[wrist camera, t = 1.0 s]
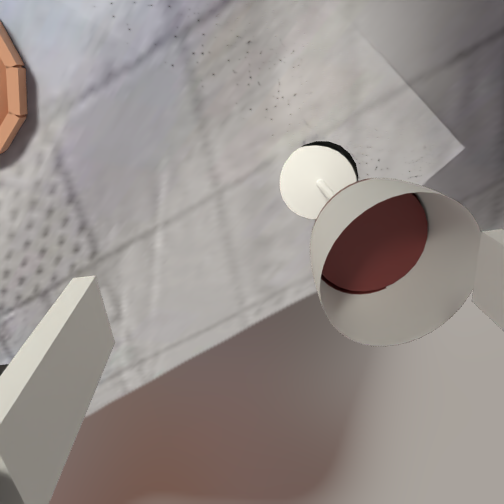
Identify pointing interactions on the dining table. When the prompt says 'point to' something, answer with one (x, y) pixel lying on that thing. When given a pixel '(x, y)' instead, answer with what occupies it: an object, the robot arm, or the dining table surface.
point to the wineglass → (380, 247)
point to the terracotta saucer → (11, 91)
